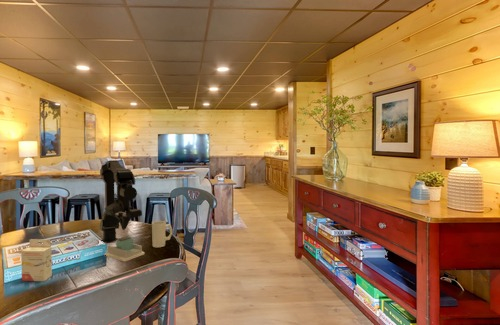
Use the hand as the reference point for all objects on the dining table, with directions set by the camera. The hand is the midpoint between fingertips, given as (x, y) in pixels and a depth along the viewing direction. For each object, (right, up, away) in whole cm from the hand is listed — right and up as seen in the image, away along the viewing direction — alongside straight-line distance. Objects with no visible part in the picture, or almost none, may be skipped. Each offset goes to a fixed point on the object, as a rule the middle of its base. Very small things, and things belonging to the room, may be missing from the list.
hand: (123, 229), depth 143 cm
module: (+1, -9, 0) cm, 9 cm away
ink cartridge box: (-22, -13, -26) cm, 37 cm away
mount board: (0, -12, 0) cm, 12 cm away
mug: (+14, -11, +14) cm, 23 cm away
